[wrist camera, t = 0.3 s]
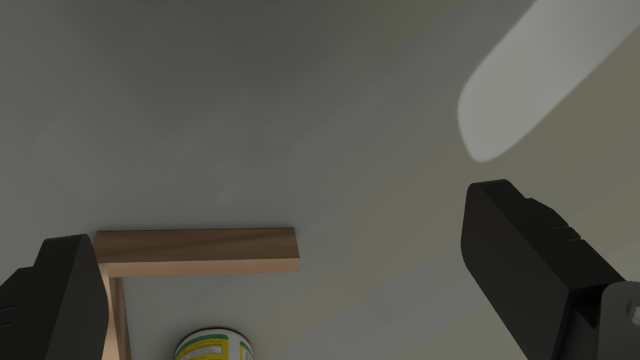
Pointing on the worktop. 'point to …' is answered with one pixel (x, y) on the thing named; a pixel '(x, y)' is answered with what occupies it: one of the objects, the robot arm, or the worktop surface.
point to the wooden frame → (183, 263)
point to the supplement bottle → (214, 346)
